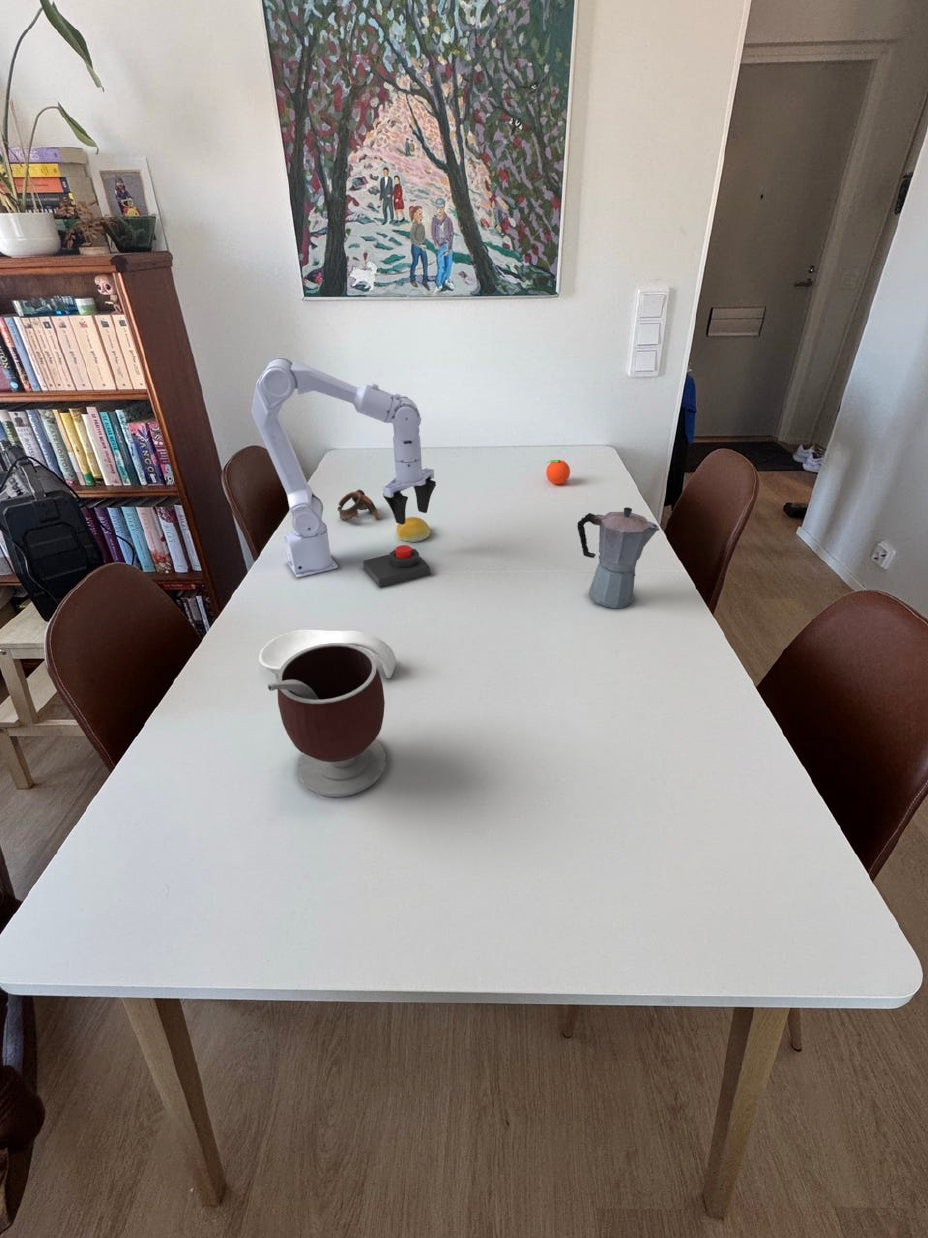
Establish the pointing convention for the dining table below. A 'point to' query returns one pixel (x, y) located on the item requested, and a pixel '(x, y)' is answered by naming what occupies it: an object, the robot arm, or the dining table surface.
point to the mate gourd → (333, 716)
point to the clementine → (557, 471)
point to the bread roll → (413, 530)
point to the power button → (403, 551)
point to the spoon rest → (299, 640)
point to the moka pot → (616, 554)
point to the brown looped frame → (356, 505)
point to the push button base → (396, 568)
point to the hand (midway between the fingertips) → (411, 517)
